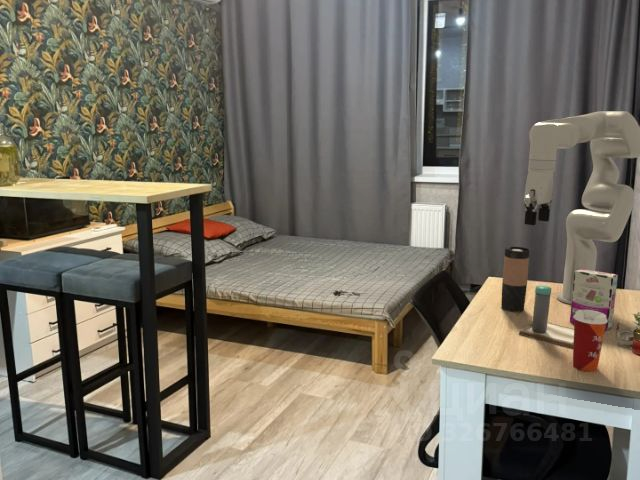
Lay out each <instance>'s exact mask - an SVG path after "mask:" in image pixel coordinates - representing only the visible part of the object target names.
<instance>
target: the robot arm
mask: <svg viewBox="0 0 640 480" xmlns="http://www.w3.org/2000/svg"><path fill="white" fill-rule="evenodd" d="M528 135H529V136H528V139H529V142H530V143H529V144H530V145H529V155H528V166H527V167H528V168H527V170H528V172H527V176H526V182H525V187H524V197H523V203H525V204H524V206H525V207H524V210H525V214H524V215H525V216H524V225H529V226H536V224H537V220H538V221H540V222H549V220H550V213H551V206H552V205H551V203H552V201H553V200H552V199H553V191H554V190H553V189H554V188H553V187H554V172H556V164H557V156H558V155H557V154H558V153H557V152H558V149H570V148H573V147H575V146H576V145H577V144H581V143H582V144H583V143H587V142H590V143H589V149H590V154H591V159H592V166H593V168H592V173H591V175H590V177H589V180H588V181H587V183H586V186H585V189H584V191H583V193H582V196H581V204H582V206H583V207H584V209H583V208H582V209H581V208H580V209H578V208H577V209H574V210H571V211H570V212H569V214H568V215H567V216H566V221H565V230H566V236H567V237H566V251H565V261H564V263H565V264H564V272H563V282H562V292H559V293H557V295H556V299H557V300H559V302H562V303H564V304H569V305H571V304H572V294H573V283H574V272H575V271H576V270H578V269H586V270H592V271H596V267H597V266H596V265H597V258H598V257H597V256H598V254H597V253H598V250H597V247H596V244H595V243H594V241H599V242H600V241H601V242H605V243H615V242H616V241H618V240H619V239H620V237H621V236H622V234H623V232H624V229H625V228H626V225H627V223H628V221H629V218H630V215H631V213H632V211H633V209H634V208H633V207H634V205H635V201H636V200H635V199H636V196H635V192H634V189H633V188H632V187H631V186H629V185H627V184H619V183H618V182H619V178H620V173H621V172H620V170H619V168H618V166H617V164H616V163H615V161H614V159H613V158H623V159H635V158H639V157H640V125H639V122H638V121H637V120H636V118H635V116H633V114H631V113H630V112H628V111H626V110H625V111H624V110H622V111H621V110H620V111H617V110H616V111H615V110H613V111H612V110H611V111H607V110H605V111H604V110H603V111H602V110H601V111H594V112H590V113H586V114H582V115H576V116H575V115H574V116H569V117H564V118H557V119H550V120H549V119H548V120H543V121H540V122H536V123H535V124H533V125H532V127H531V129H530V130H529V134H528ZM538 206H540V207H539V208H538ZM585 208H586V209H585ZM537 209H538V212H537ZM537 215H538V216H537Z"/></svg>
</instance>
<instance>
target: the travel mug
mask: <svg viewBox="0 0 640 480" xmlns="http://www.w3.org/2000/svg"><path fill="white" fill-rule="evenodd" d="M504 248H505V249H504V258H503V259H504V261H503V270H502V283H501V303H500V304H501V307H500V308H501V309H502V310H505V311H508V312H516V313H517V312H523V311H524V309H525V305H526V296H527V286H528V277H529V276H528V275H529V265H530V264H529V263H530V253H531V252H530V249H528V247H527V248H526V247H523V246H510V247H508V248H507V247H504Z"/></svg>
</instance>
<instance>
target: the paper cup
mask: <svg viewBox="0 0 640 480" xmlns="http://www.w3.org/2000/svg"><path fill="white" fill-rule="evenodd" d="M573 317H574V319H575V322H574V323H573V324H574V327H573V329H574V345H573V348H572V351H573V352H572V366H573V368H575V369H577V370H579V371H583V372H589V373H592V372H596V371H597V370H598V367H599V362H600V357H601V352H602V346H603V341H604V335H605V331H606V330H605V325H606V323H607V322H608V321H607V319H606V315H605V314H603V313H601V312H598V311H593V310H578V311H576V313H575V315H574V316H573Z"/></svg>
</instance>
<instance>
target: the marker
mask: <svg viewBox="0 0 640 480" xmlns="http://www.w3.org/2000/svg"><path fill="white" fill-rule="evenodd" d="M534 292H535V295H534V302H533V303H534V305H533V314H532V322H531V324H532V331H533V332H536V333H546V331H547V323H549V322H548V321H549V312H550V303H551V302H550V301H551V295H552V287H550V286H547V285H535V291H534Z"/></svg>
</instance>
